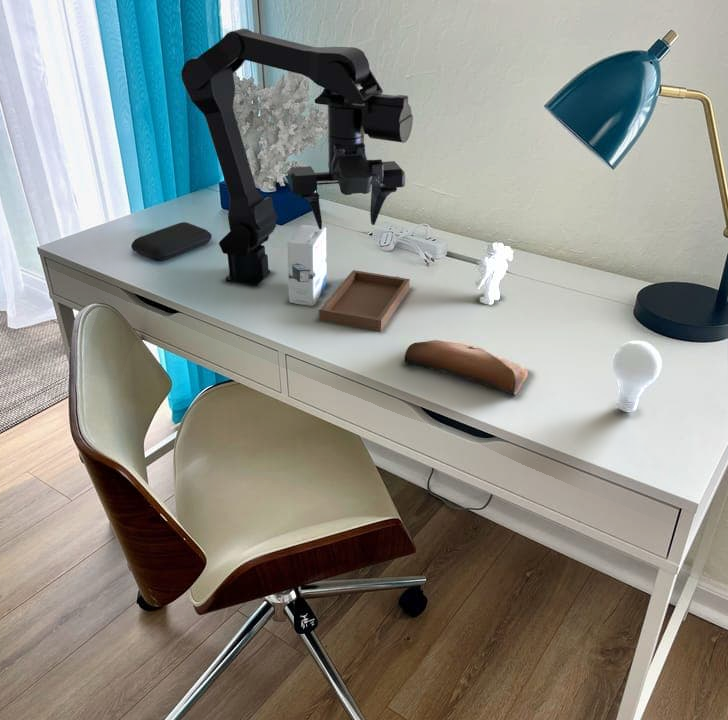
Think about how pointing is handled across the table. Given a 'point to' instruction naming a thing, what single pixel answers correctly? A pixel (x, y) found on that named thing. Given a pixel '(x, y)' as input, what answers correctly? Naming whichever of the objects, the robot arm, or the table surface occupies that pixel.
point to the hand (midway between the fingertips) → (346, 226)
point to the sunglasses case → (468, 364)
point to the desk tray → (365, 300)
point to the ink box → (307, 264)
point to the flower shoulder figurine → (493, 270)
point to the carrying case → (171, 241)
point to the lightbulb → (634, 371)
